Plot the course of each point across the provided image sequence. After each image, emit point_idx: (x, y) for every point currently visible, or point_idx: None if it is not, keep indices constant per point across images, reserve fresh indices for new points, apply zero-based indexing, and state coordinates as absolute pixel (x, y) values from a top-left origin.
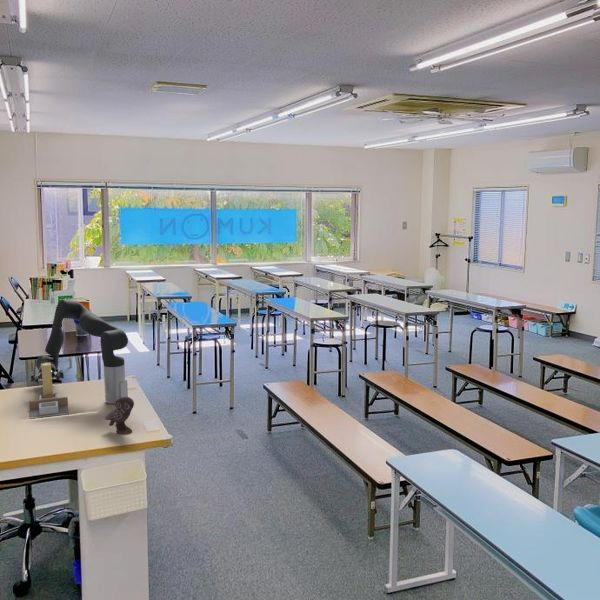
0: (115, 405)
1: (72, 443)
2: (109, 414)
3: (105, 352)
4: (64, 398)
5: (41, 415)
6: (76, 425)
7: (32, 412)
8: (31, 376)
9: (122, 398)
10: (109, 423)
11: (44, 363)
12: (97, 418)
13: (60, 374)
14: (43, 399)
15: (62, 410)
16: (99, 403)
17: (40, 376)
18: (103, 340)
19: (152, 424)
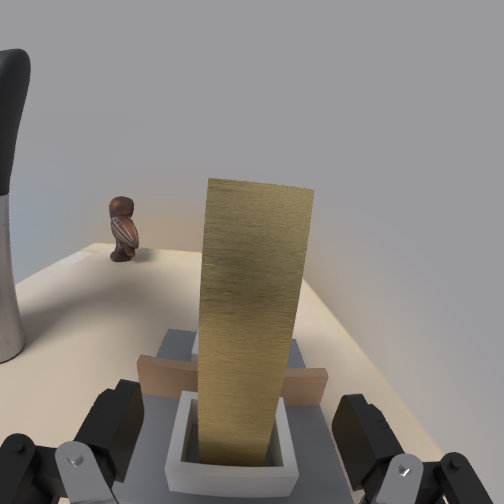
0: (133, 210)
1: (201, 261)
2: (136, 232)
3: (14, 130)
4: (155, 359)
5: None
6: (175, 289)
7: (293, 367)
8: (452, 453)
9: (126, 197)
10: (134, 251)
11: (280, 185)
12: (119, 295)
13: (52, 452)
14: None
15: (182, 348)
16: (37, 359)
17: None
18: (25, 81)
19: (71, 258)
